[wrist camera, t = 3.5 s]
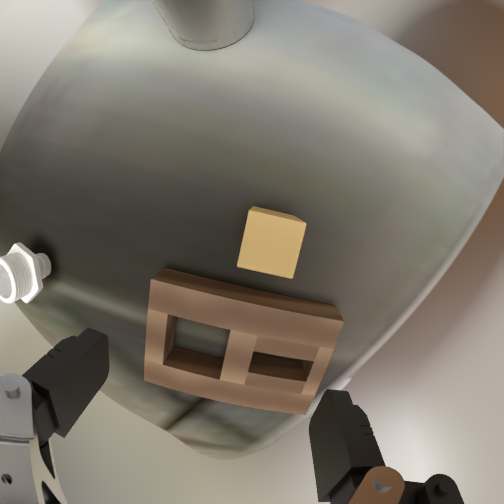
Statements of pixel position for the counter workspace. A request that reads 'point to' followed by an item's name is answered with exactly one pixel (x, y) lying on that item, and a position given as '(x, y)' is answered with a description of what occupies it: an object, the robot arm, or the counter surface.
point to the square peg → (271, 242)
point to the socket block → (240, 342)
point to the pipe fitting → (22, 274)
